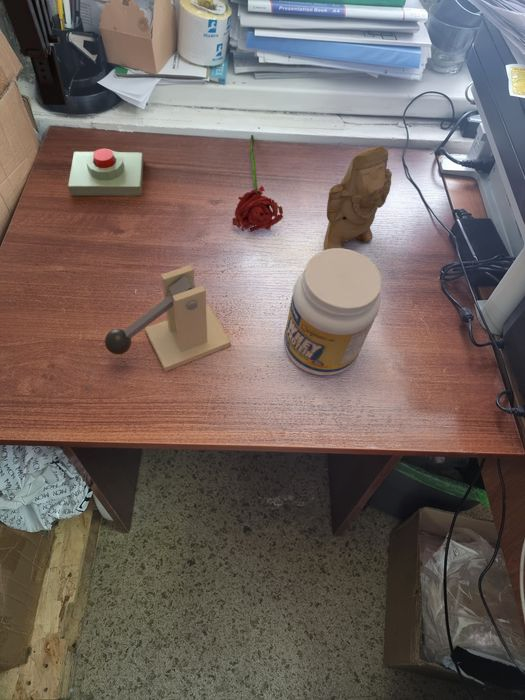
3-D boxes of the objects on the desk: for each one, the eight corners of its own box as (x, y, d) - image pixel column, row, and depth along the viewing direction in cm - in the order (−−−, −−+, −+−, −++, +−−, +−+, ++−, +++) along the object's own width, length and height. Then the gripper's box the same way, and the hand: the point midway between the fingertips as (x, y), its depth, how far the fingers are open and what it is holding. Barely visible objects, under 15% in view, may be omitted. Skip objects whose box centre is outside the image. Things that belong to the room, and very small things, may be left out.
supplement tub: (267, 344, 80) (277, 273, 66) (316, 302, 85) (336, 229, 71) (325, 393, 76) (350, 330, 62) (373, 346, 81) (406, 278, 67)
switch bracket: (164, 372, 76) (155, 318, 64) (145, 332, 80) (133, 274, 68) (230, 345, 79) (233, 290, 68) (209, 308, 83) (208, 250, 71)
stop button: (94, 168, 94) (92, 160, 92) (95, 156, 96) (94, 148, 94) (114, 168, 94) (112, 160, 93) (115, 156, 96) (113, 148, 95)
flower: (240, 167, 113) (245, 249, 94) (220, 129, 107) (220, 209, 87) (278, 149, 111) (291, 230, 91) (260, 109, 104) (269, 187, 84)
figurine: (327, 268, 90) (352, 175, 73) (306, 241, 93) (326, 146, 76) (384, 247, 94) (421, 154, 77) (362, 221, 97) (393, 127, 80)
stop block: (70, 195, 95) (65, 178, 91) (76, 161, 100) (71, 143, 97) (141, 195, 96) (138, 178, 93) (143, 161, 101) (141, 144, 98)
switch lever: (120, 362, 72) (104, 355, 69) (112, 343, 74) (96, 335, 71) (203, 299, 70) (190, 289, 67) (193, 280, 72) (179, 270, 68)
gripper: (21, -124, 42) (81, 133, 62) (41, -169, 49) (89, 74, 69) (-77, -131, 41) (16, 132, 61) (-41, -176, 48) (31, 73, 68)
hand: (55, 101), depth 65 cm, fingers closed
